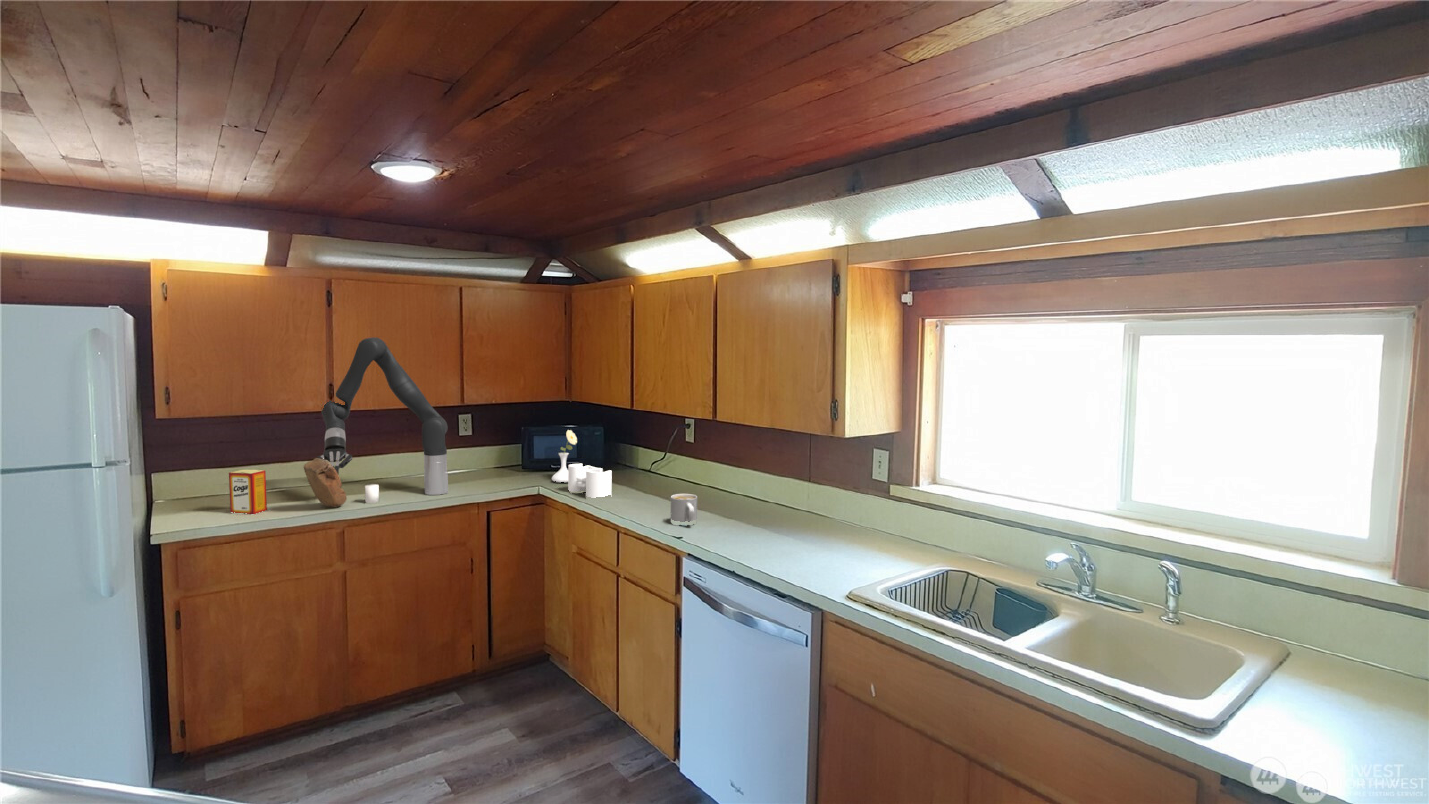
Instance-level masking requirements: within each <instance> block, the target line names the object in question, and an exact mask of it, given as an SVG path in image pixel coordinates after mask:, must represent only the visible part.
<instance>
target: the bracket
mask: <svg viewBox="0 0 1429 804" xmlns="http://www.w3.org/2000/svg"><path fill="white" fill-rule="evenodd" d="M567 470H568V482H567V483H568V485H567V489H568V490H569V491H571V492H581V491H586V493H585V497H586V496H587V497H591V498H596V497H605V496H608V495H611V496H612V492H613V491H612V485H613V483H612V480H613V479H612V476H613V475H612V474H613V472H612V470H610V469H609V470H606V471H604V469H603V467H602V468H601V467H595V466H591V465H590V464H589V465H585V466H583V463H572V464H571V463H570V464H568V468H567Z"/></svg>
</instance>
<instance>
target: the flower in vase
mask: <svg viewBox="0 0 1429 804" xmlns="http://www.w3.org/2000/svg"><path fill="white" fill-rule="evenodd" d="M565 434H566V435H565V436H566V439H567V441H566V445H565V447H563V446H561V447H560V450H561V451H563V452H557V453H558V454H557V455H558V456H559V458H560V463H561V465H560V469H559V470H558V471H557V472H556V473H554V474H553V475H552V476H551V480H552V481H553V482H555V481H556V482H555V483H561V482H564V483H568V468H567V460H568V456H569V455H570V453H569V452H566V450H569V451H571V450H573V446H572V445H574V446H576V444H577V443H578V438H577V436H576V433H574V432H573V430H572V429H570V430H569V429H567V431H566V433H565ZM568 443H569V444H568ZM570 444H571V445H570Z"/></svg>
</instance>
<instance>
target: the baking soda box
mask: <svg viewBox="0 0 1429 804" xmlns="http://www.w3.org/2000/svg"><path fill="white" fill-rule="evenodd" d="M266 475H267V474H266V470H265V469H263V470H260V469H239V470H234V471H230V472H228V487H229V488H228V489H229V509H230V510H229V511H230V512H233V513H234V512H235V513H247V514H246V515H251V514H254V515H256V513H257V514H259V512H260V513H263V512H266V511H265V510H267V511H268V508H267V507H268V505H267V502H268V501H267V482H266V481H267V479H266V478H267V476H266ZM262 511H263V512H262Z"/></svg>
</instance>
